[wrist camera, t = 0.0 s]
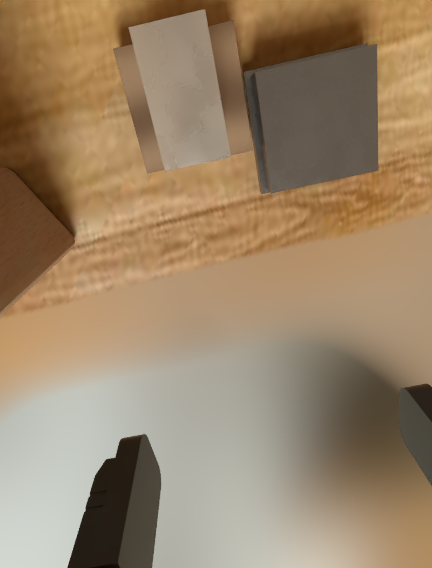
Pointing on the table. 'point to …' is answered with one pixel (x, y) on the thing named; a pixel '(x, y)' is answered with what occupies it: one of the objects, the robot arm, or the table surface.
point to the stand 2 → (314, 118)
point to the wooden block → (26, 239)
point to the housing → (182, 89)
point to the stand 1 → (228, 87)
